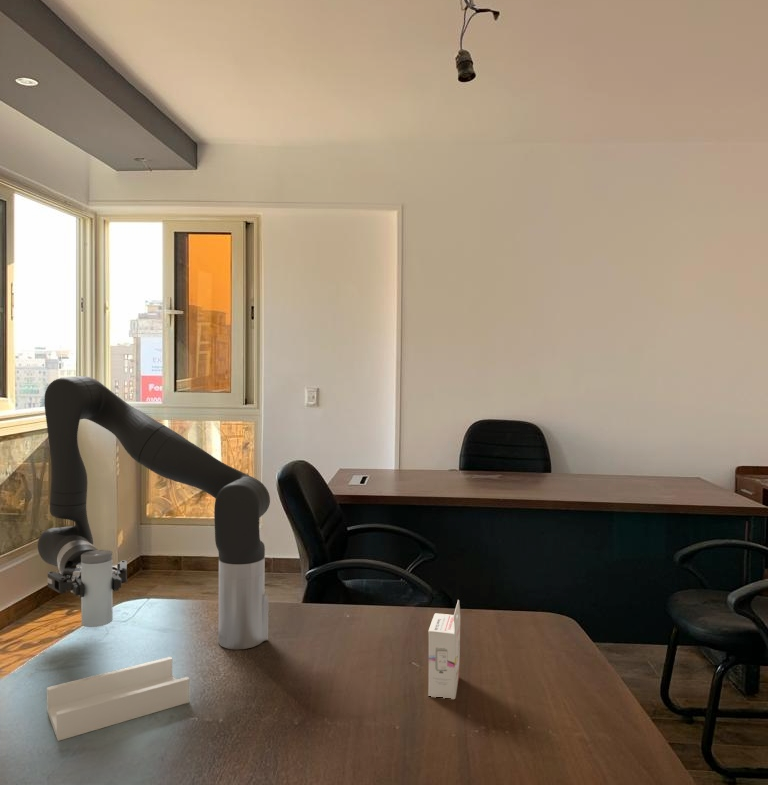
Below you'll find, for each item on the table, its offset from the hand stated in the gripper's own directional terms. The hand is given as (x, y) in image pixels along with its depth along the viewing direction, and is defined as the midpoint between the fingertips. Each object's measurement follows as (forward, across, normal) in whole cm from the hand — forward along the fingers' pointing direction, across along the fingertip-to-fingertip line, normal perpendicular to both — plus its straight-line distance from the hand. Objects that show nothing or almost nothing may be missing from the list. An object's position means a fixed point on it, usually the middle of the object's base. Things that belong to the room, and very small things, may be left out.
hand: (99, 588), depth 112 cm
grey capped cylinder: (-2, 0, +6) cm, 7 cm away
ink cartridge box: (+32, +51, +18) cm, 63 cm away
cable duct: (+8, +1, +18) cm, 20 cm away
